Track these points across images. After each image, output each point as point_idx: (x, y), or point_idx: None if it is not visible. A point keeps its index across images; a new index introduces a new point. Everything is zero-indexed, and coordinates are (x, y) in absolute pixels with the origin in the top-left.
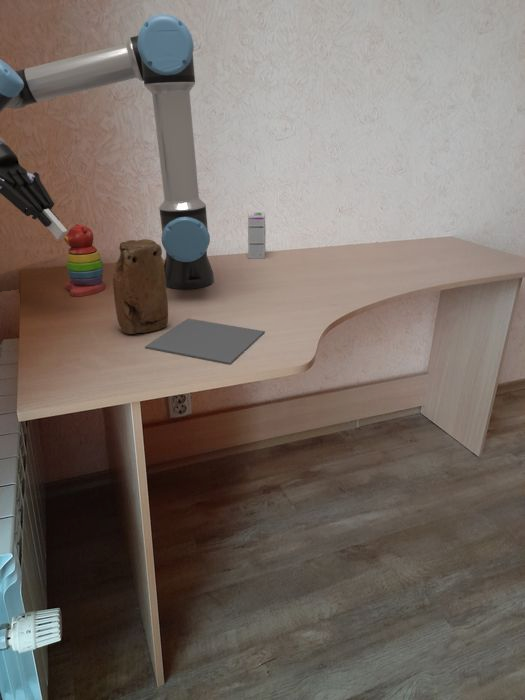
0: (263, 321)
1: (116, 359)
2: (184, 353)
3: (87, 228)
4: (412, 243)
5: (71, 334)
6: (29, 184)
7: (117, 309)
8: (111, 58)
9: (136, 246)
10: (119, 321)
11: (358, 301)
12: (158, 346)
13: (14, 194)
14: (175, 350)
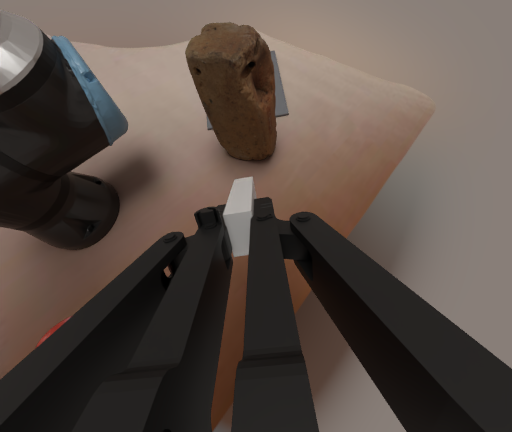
0: (180, 80)
1: (323, 116)
2: (280, 81)
3: (53, 331)
4: None
5: (308, 195)
6: (154, 369)
7: (273, 137)
8: None
9: (244, 25)
10: (273, 147)
11: (101, 53)
12: (281, 105)
13: (394, 278)
14: (279, 90)
